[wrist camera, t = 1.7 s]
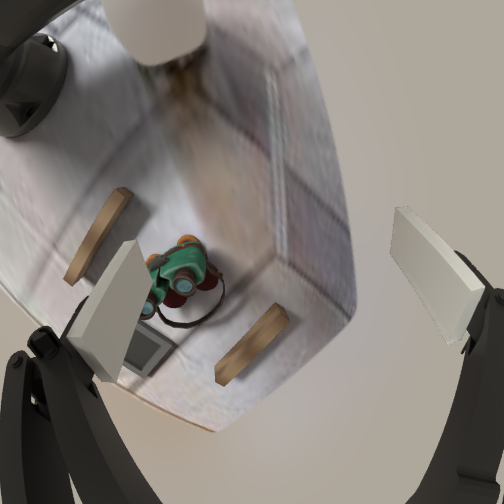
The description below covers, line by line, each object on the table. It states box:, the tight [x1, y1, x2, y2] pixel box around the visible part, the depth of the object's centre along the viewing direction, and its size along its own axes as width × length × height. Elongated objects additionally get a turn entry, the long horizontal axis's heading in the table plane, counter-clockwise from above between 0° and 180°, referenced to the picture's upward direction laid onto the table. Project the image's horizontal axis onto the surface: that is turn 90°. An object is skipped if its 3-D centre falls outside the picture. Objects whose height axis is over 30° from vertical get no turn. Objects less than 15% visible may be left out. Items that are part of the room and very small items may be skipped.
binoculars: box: [139, 235, 225, 329], centre depth 29 cm, size 9×11×10 cm
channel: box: [63, 187, 290, 386], centre depth 33 cm, size 13×25×4 cm, turn 50°
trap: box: [122, 319, 173, 378], centre depth 35 cm, size 8×8×1 cm
